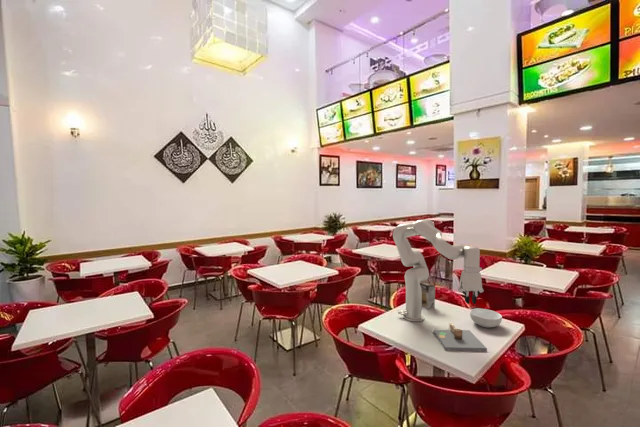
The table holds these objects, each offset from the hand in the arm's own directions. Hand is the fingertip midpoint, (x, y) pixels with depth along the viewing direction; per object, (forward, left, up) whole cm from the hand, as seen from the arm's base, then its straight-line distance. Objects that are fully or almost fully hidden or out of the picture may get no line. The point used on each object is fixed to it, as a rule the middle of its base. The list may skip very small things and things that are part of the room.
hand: (470, 302), depth 164 cm
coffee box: (-10, +45, -19) cm, 50 cm away
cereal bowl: (+16, +16, -19) cm, 30 cm away
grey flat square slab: (-8, -5, -19) cm, 21 cm away
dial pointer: (-8, 0, -17) cm, 19 cm away
